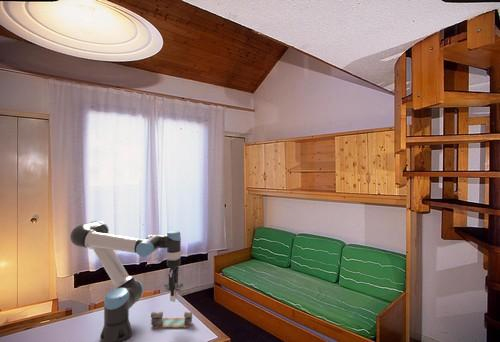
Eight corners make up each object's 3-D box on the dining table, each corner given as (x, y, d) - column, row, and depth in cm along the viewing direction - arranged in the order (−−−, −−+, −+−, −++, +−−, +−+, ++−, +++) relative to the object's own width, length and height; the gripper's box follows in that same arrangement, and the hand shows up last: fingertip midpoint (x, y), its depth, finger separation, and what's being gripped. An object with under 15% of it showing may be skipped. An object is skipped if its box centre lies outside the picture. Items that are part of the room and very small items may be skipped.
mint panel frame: (149, 328, 149) (149, 315, 149) (154, 319, 158) (154, 307, 158) (190, 328, 149) (190, 315, 149) (193, 319, 158) (193, 307, 158)
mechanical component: (182, 302, 152) (182, 284, 152) (164, 302, 152) (164, 284, 152) (183, 299, 155) (183, 282, 155) (165, 299, 155) (165, 282, 155)
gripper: (176, 263, 146) (176, 306, 145) (183, 254, 162) (183, 293, 161) (162, 263, 146) (162, 306, 145) (171, 254, 162) (171, 293, 161)
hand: (173, 299), depth 153 cm, fingers closed on mechanical component, 3 cm apart
